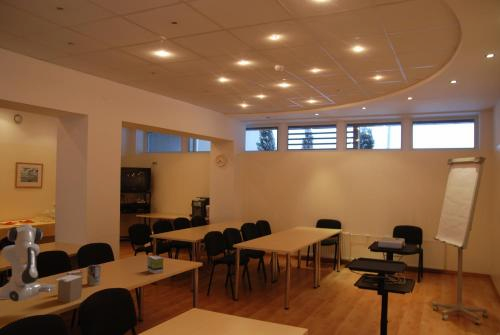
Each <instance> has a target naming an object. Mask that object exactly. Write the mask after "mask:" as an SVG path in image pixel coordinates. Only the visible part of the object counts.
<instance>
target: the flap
mask: <svg viewBox="0 0 500 335" xmlns="http://www.w3.org/2000/svg"><path fill="white" fill-rule="evenodd" d="M80 277H82V278H83V275H82V276H75V275H68V276H67V275H65V276H63V277H59V278H57V279H54V282H58V281H62V282H69V281H72V280H74V279H77V278H80Z"/></svg>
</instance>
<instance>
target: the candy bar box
mask: <svg viewBox="0 0 500 335" xmlns="http://www.w3.org/2000/svg"><path fill="white" fill-rule="evenodd" d="M68 275H75V276H82V277H83V271H82V270H74V271H69V272H66V276H68ZM82 291H83V286H82V287H81V292H82Z"/></svg>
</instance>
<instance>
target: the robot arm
mask: <svg viewBox="0 0 500 335" xmlns="http://www.w3.org/2000/svg"><path fill="white" fill-rule="evenodd" d="M43 234H44V233H43V231H42V229H41V228H39V227H33V226H32V225H31V224H29V223H24V224H21V225H19V227H17V226H13V227H11V228H9V230H8V232H7V235H6V236H7V239H8V241H10V242H12V243H14V244H12V245H7V246H4V247H3V248H2V249H1V256H2V258H3V259H4V260H6V261H7V262H8V263H9V264H10V266H11V267H10V268H11V276H8V277H7V278H6V279H7V280H8V282H7V283H6V284H4V286H2V287H1V288H0V300H9V299H10V300H11V301H12V302H15V303H16V302H17V303H18V302H22V301H25V300H28V299H31V298H34V297H37V296H39V295H40V293H50V292H54V291H56V288H57V287H56V284H52V283H50V282H49V283H48V282H47V283H39V282H37V280H38V278H39V272H38V265H37V261H38V260H37V256H38V255H39V254H40V246H39V245H38V244H37V243H39V242H40V241H42V238H43ZM22 259H25V262H26V263H25V262H22V261H21V260H22Z"/></svg>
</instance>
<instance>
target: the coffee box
mask: <svg viewBox="0 0 500 335" xmlns="http://www.w3.org/2000/svg"><path fill="white" fill-rule="evenodd" d="M86 272H87V273H86V274H87V277H86V282H87V283H86V285H87V286H94V287H96V286H99V285H100V284H101V265H97V264H91V265H87V271H86Z"/></svg>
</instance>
